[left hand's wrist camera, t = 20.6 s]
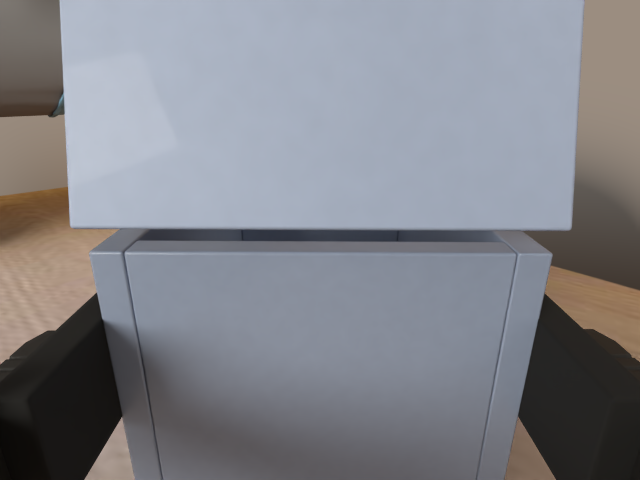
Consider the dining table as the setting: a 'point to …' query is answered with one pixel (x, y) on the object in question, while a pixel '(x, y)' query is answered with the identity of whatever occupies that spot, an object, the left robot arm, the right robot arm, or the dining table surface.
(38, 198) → the dining table surface
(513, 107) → the lid
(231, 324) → the chest
